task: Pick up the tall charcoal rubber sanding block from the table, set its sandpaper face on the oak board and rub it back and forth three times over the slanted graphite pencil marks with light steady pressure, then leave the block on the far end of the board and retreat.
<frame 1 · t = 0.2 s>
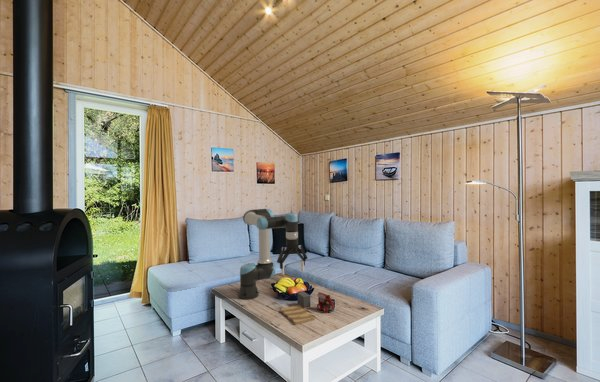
hand: (292, 272, 182), 27 cm above the table, fingers open, 13 cm apart
sanding block: (304, 305, 197), on the table
board: (296, 315, 183), on the table
toy fire truck: (325, 310, 190), on the table
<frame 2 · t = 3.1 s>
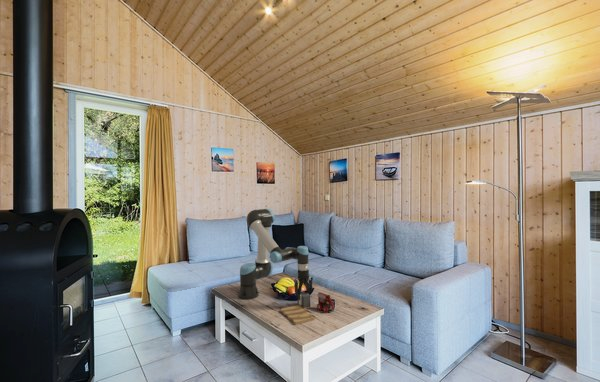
hand: (303, 303, 197), 2 cm above the table, fingers closed on sanding block, 5 cm apart
sanding block: (304, 305, 197), on the table, touching gripper
everything else where it was.
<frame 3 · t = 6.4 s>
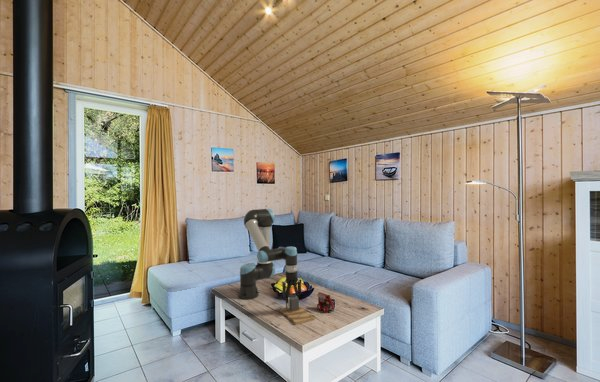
hand: (292, 306, 188), 3 cm above the table, fingers closed on sanding block, 5 cm apart
sanding block: (292, 309, 188), point 2 cm above the table, touching gripper
everything else where it was.
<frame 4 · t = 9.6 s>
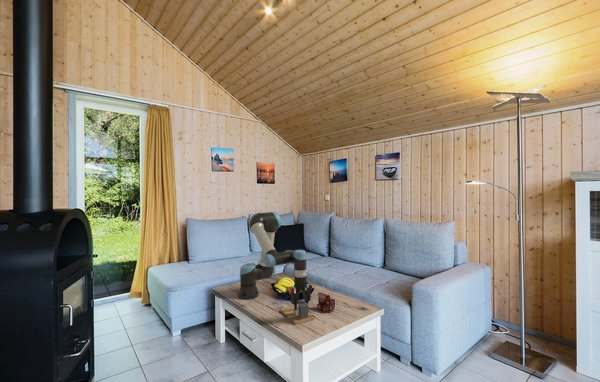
hand: (301, 313, 177), 3 cm above the table, fingers closed on sanding block, 5 cm apart
sanding block: (301, 316, 177), point 2 cm above the table, touching board, gripper
everything else where it was.
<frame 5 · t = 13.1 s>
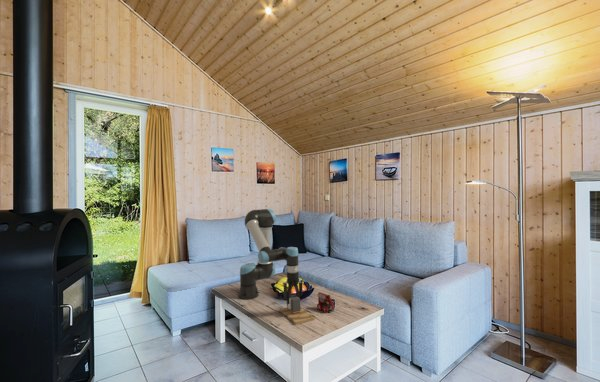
hand: (293, 307, 187), 3 cm above the table, fingers closed on sanding block, 5 cm apart
sanding block: (293, 309, 186), point 2 cm above the table, touching gripper
everything else where it was.
when the fingers open (3 cm above the table, at t = 16.3 s): sanding block stays where it is, resting on board.
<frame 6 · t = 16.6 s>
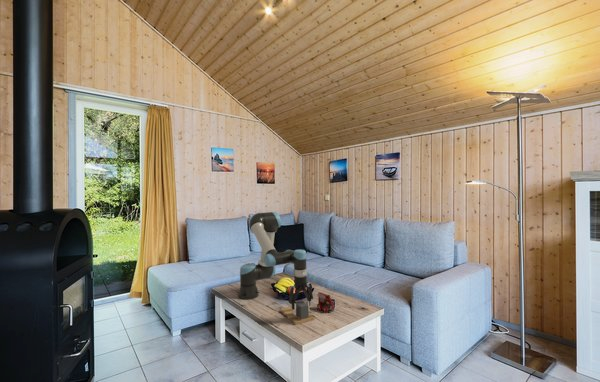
hand: (301, 312, 177), 4 cm above the table, fingers open, 8 cm apart
sanding block: (301, 316, 177), point 2 cm above the table, touching board
everything else where it was.
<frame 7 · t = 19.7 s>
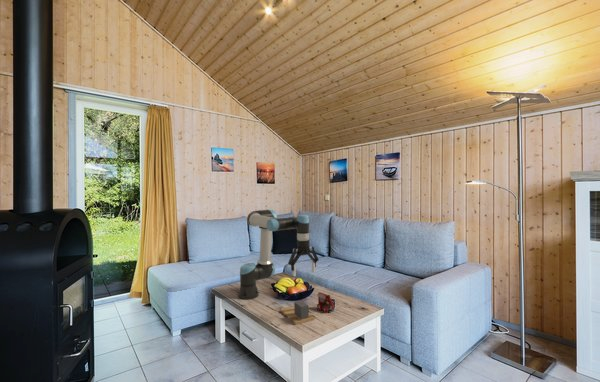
hand: (303, 274, 179), 27 cm above the table, fingers open, 13 cm apart
nothing on the table moved.
at the end: sanding block inside the target area (0.3 cm from its centre), point 1.5 cm above the table; sanding block tilted 0°; the gripper is holding nothing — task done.
